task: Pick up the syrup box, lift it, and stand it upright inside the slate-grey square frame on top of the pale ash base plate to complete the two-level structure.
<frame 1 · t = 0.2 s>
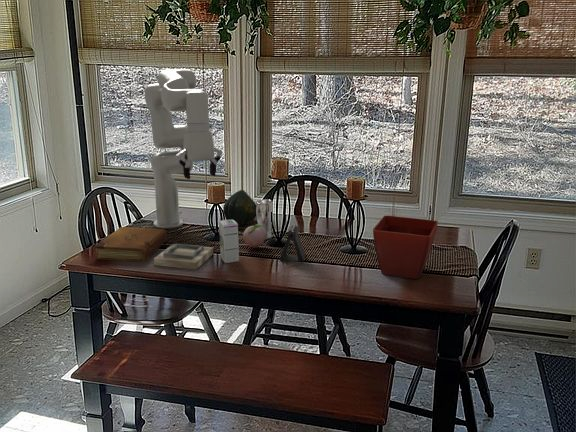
hand: (200, 176, 204), 31 cm above the table, tool pointing down, fingers open, 9 cm apart
diary: (132, 251, 222), on the table
squash: (240, 223, 256), on the table
phone stand: (292, 259, 213), on the table
beer glass: (264, 237, 237), on the table
decorative fruit: (254, 248, 224), on the table
base plate: (184, 259, 212), on the table
syrup box: (229, 260, 212), on the table
plant pot: (402, 271, 203), on the table
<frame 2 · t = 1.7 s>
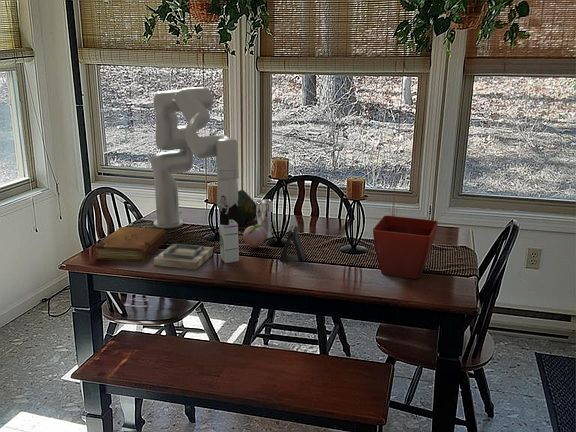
hand: (229, 221, 207), 15 cm above the table, tool pointing down, fingers open, 9 cm apart
nothing on the table moved.
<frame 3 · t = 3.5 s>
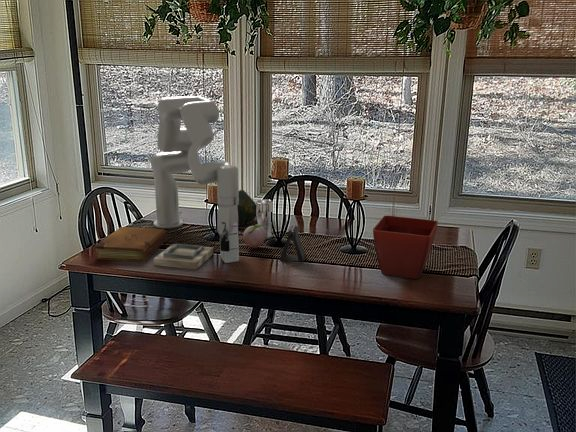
hand: (229, 246, 211), 5 cm above the table, tool pointing down, fingers closed on syrup box, 8 cm apart
syrup box: (229, 260, 212), on the table, touching gripper
everything else where it was.
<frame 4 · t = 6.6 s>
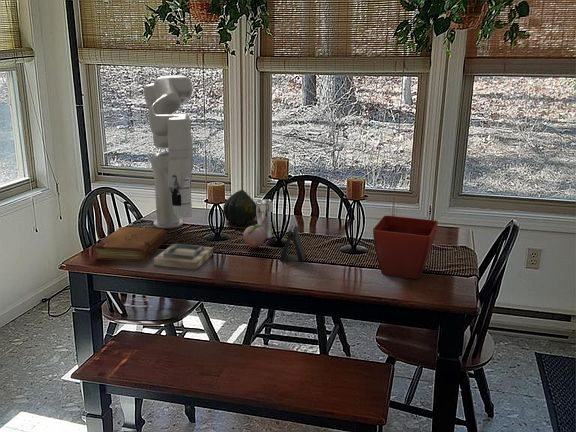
hand: (181, 202, 206), 22 cm above the table, tool pointing down, fingers closed on syrup box, 8 cm apart
syrup box: (182, 216, 208), point 16 cm above the table, touching gripper
everything else where it was.
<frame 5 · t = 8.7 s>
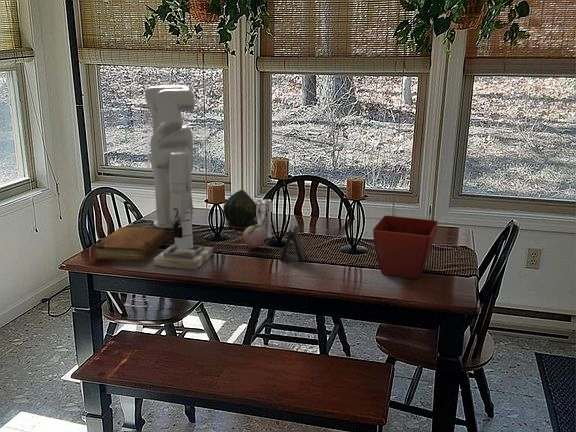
hand: (183, 233, 209), 10 cm above the table, tool pointing down, fingers closed on syrup box, 8 cm apart
syrup box: (183, 247, 211), point 5 cm above the table, touching gripper
everything else where it was.
when the fingers open (8 cm above the table, at t = 10.1 s): syrup box stays where it is, resting on base plate.
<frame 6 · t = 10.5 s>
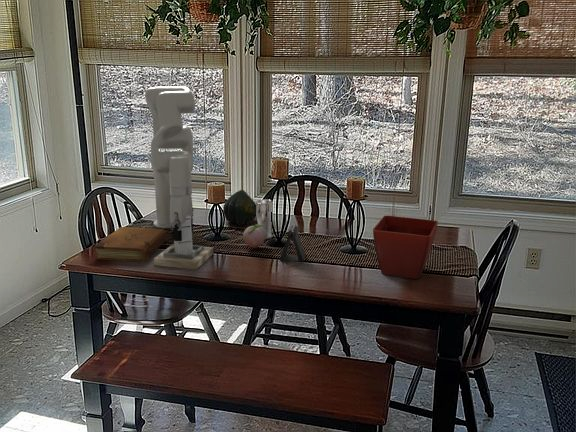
hand: (183, 236, 210), 9 cm above the table, tool pointing down, fingers open, 9 cm apart
syrup box: (183, 253, 212), point 2 cm above the table, touching base plate
everything else where it was.
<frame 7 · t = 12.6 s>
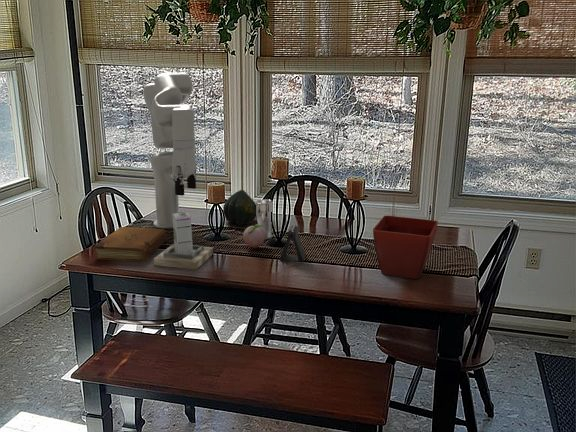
hand: (185, 191, 207), 25 cm above the table, tool pointing down, fingers open, 9 cm apart
nothing on the table moved.
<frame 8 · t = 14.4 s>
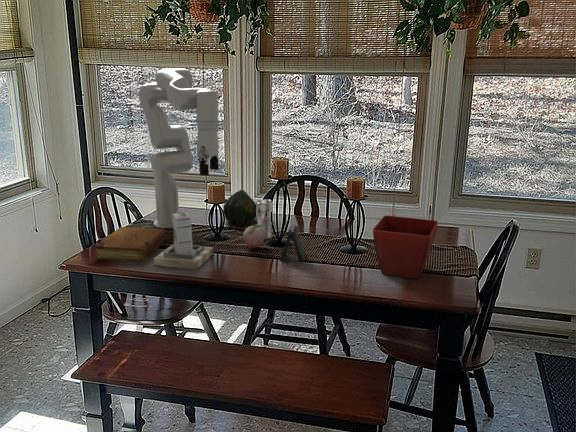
hand: (209, 172, 213), 30 cm above the table, tool pointing down, fingers open, 9 cm apart
nothing on the table moved.
at the end: syrup box 0.2 cm off-centre on the base plate, point 2.3 cm above the base plate's base; syrup box tilted 0°; the gripper is holding nothing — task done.
